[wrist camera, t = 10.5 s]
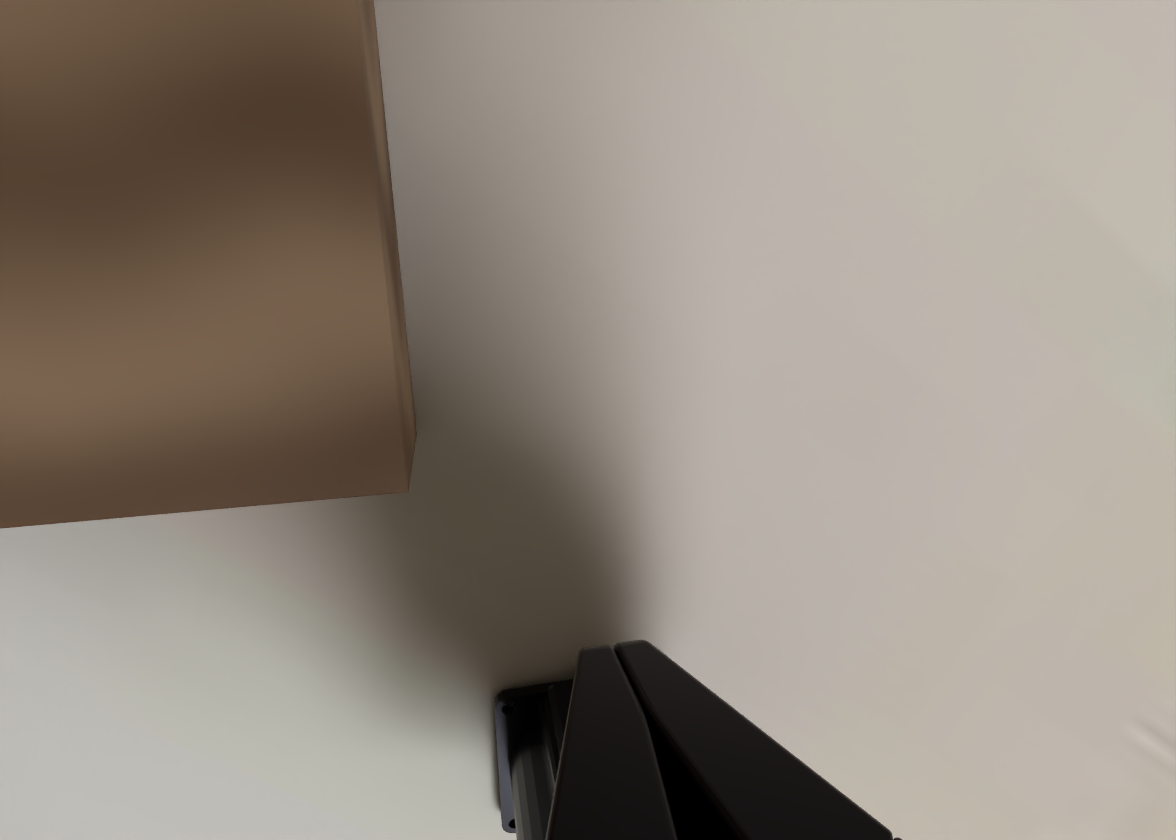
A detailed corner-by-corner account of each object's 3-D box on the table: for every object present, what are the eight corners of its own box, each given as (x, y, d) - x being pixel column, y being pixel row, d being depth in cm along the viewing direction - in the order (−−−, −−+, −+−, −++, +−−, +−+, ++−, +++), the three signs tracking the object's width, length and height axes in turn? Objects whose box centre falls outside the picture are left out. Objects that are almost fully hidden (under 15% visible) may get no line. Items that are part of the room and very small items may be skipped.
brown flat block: (416, 434, 18) (408, 491, 15) (-58, 468, 16) (-209, 547, 12) (358, -150, 14) (325, -279, 10) (-317, -220, 12) (-678, -421, 8)
